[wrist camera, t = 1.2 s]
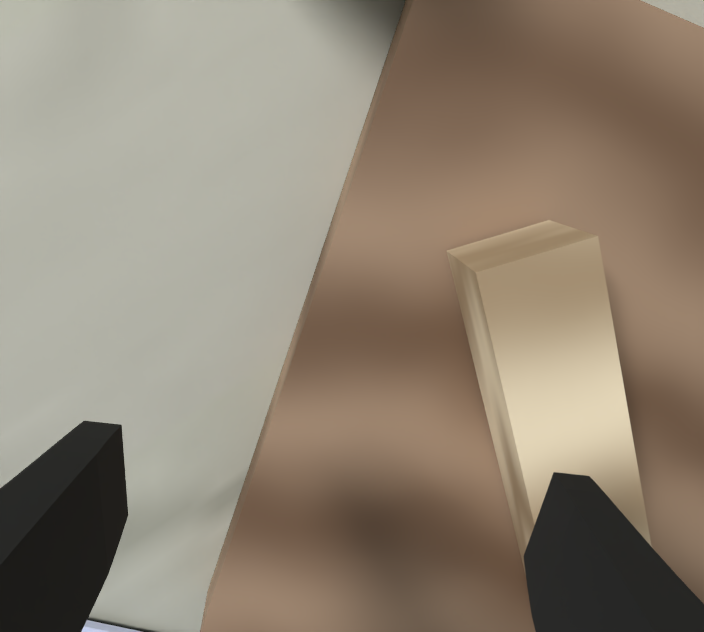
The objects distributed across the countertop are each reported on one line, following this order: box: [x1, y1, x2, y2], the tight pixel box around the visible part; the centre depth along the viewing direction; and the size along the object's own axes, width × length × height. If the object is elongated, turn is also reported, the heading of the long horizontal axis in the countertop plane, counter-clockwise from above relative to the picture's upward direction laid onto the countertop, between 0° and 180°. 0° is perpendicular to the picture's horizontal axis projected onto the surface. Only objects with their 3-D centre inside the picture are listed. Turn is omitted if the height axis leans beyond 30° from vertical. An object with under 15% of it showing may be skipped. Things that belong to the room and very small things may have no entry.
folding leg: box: [447, 220, 652, 575], centre depth 19 cm, size 17×3×4 cm, turn 16°
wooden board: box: [200, 0, 704, 632], centre depth 19 cm, size 22×18×5 cm
